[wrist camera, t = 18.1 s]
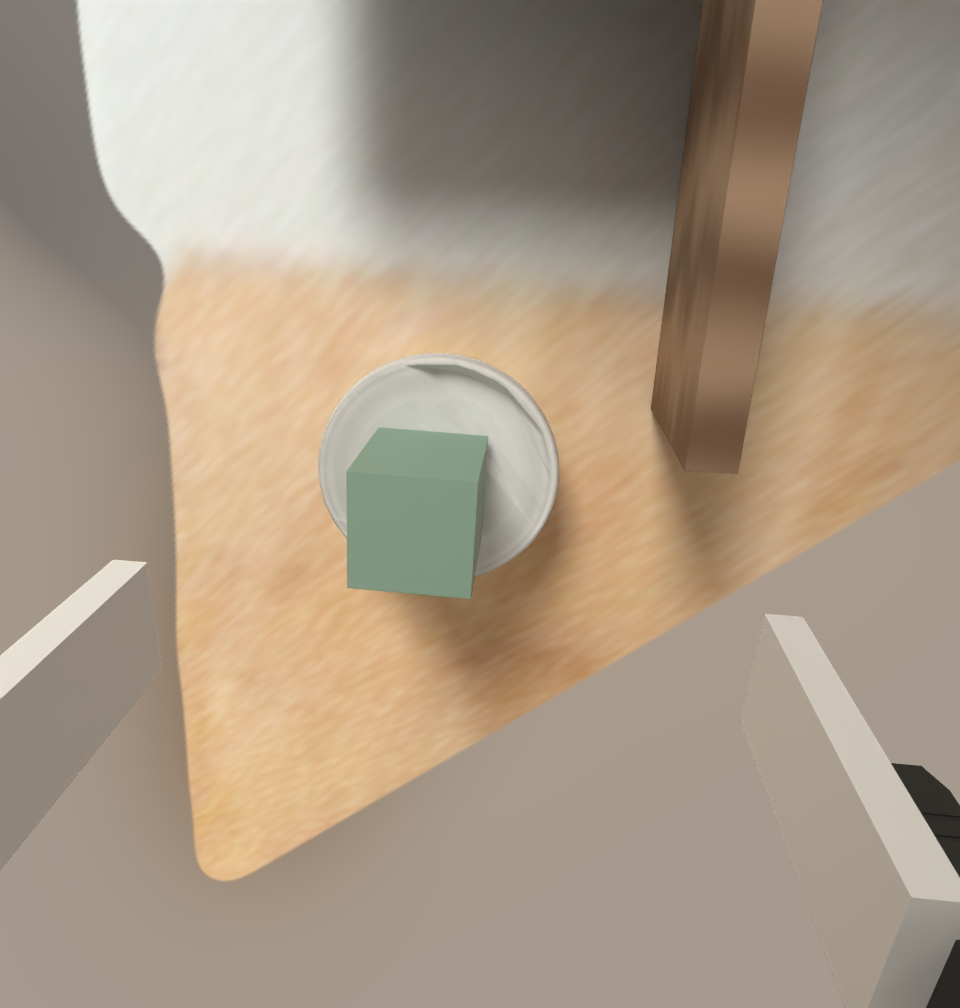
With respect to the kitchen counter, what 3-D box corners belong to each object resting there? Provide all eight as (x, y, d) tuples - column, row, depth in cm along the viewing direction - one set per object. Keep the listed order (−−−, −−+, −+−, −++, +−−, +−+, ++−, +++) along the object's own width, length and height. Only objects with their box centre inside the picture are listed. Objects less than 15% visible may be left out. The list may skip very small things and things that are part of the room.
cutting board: (747, -345, 27) (848, -617, 18) (803, -346, 27) (933, -618, 18) (650, 408, 37) (685, 470, 28) (690, 410, 37) (737, 474, 28)
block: (378, 427, 33) (346, 471, 28) (488, 435, 33) (477, 482, 28) (377, 528, 35) (347, 587, 30) (481, 536, 35) (470, 599, 29)
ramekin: (591, 385, 37) (598, 412, 32) (508, 567, 41) (504, 615, 36) (383, 301, 36) (358, 316, 32) (320, 495, 41) (290, 535, 36)
